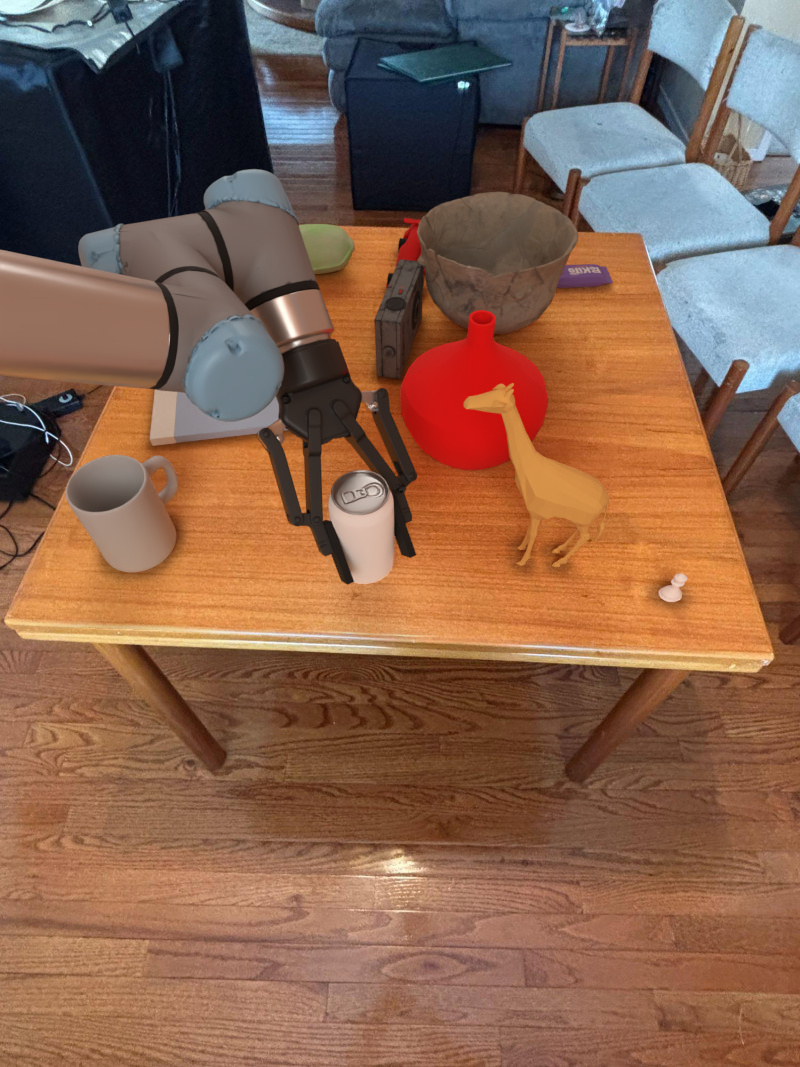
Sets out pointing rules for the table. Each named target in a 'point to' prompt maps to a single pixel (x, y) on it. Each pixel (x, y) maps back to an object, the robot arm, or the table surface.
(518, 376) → the vase
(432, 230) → the bowl
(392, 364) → the camera
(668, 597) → the chess pawn
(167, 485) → the mug
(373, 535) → the can
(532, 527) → the giraffe
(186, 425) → the blue flat rectangular slab
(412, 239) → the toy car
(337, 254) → the corn
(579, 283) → the snack package
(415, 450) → the table surface
